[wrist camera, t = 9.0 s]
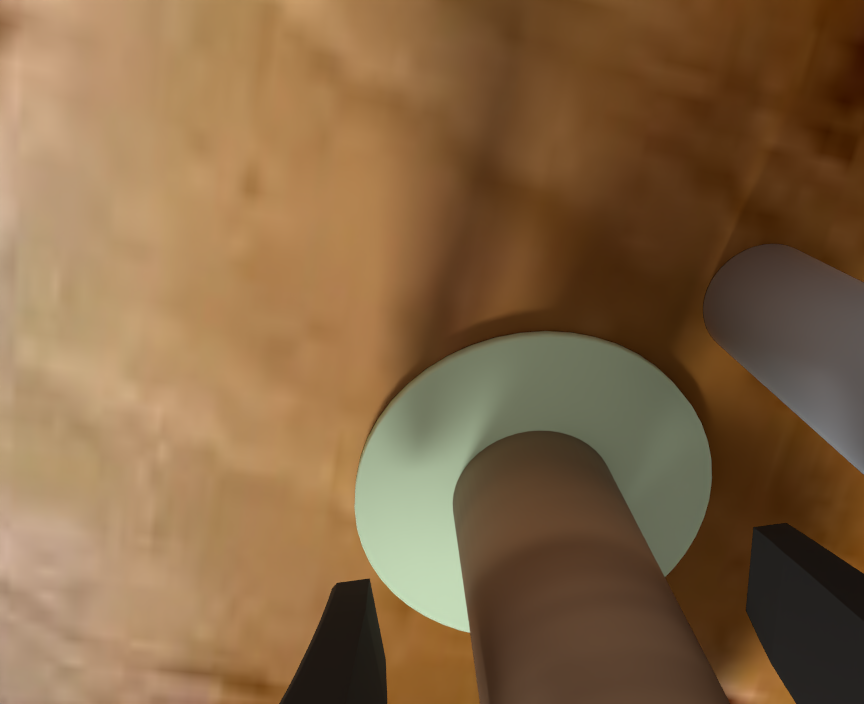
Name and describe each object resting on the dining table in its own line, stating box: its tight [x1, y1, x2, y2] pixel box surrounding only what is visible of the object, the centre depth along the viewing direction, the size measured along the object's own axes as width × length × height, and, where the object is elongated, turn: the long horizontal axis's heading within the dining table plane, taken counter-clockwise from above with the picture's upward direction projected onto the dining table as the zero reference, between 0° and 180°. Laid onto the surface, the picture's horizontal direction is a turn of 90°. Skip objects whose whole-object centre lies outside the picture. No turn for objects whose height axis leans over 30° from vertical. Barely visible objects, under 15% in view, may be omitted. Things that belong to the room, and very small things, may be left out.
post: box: [703, 244, 864, 474], centre depth 12 cm, size 2×2×6 cm
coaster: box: [355, 331, 712, 632], centre depth 16 cm, size 8×8×1 cm
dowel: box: [453, 430, 730, 704], centre depth 12 cm, size 4×4×7 cm
